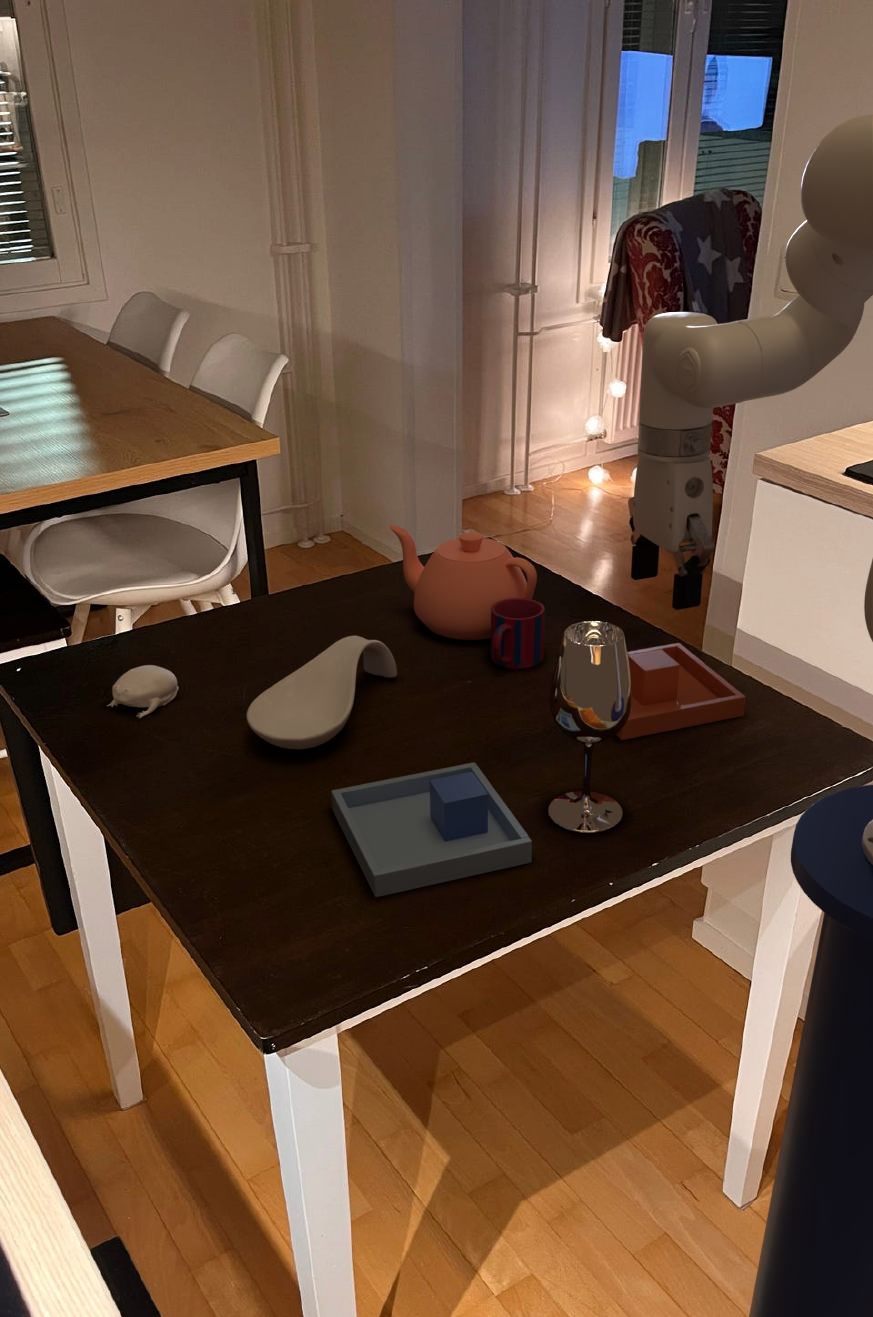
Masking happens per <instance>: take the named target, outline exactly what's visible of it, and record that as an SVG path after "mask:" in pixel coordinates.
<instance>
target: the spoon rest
mask: <svg viewBox="0 0 873 1317" xmlns="http://www.w3.org/2000/svg"><path fill="white" fill-rule="evenodd" d="M361 655H363V656H362V657H363V658H362V659H363V670H364V671H365V672H366V673H368V674H371V675H374V676H380V677H384V678H389V679H392V678H396V677H397V676H398V668H397V663H396V660H395V658H394V656H393V654H392V652H391V650H390V648H388V646H387V645H386V644H385V643H384V642H382V641H380V640H377V639H366V638H364V637H362V636H359V635H350V636H345V637H343V638H341V639H339V640H337V641H335V642H334V643H333V644H331V645H329V647H327V648H326V649H325V650H324V651H322V652H321V653H319V654H317V656H315V657H314V658H313V659H310V660H309V661H308V662H307V663H305V664H304V665H303V666H301V667H300V668H298V669H296V670H295V671H293V672H292V673H290V674H289V675H287V676H285V677H284V678H282V679H281V680H279V681H278V682H276V683H275V684H273V685H272V686H270V687H269V688H267V689H266V690H264V691H263V692H261V693H260V694H259V695H258V696H257V697H255V699H254V700H253V701H252V702H251V703H250V705H249V706H248V709H247V711H246V720H247V721H246V722H247V724H248V726H249V727H250V729H251V730H252V732H254V733H255V734H256V735H257V736H258V737H259V738H261V739H262V740H264V741H265V742H267V743H269V744H271V745H273V746H275V747H279V748H282V749H288V750H305V749H312V748H316V747H319V746H321V745H323V744H325V743H327V742H329V741H330V740H332V739H333V738H334V737H336V736H337V735H338V734H339V733H340V732H341V731H342V730H343V729H344V727H345V725H346V723H347V722H348V720H349V718H350V715H351V712H352V709H353V706H354V700H355V695H356V694H355V693H356V682H357V671H358V670H357V669H358V664H359V660H360V657H361Z"/></svg>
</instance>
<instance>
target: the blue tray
mask: <svg viewBox="0 0 873 1317" xmlns="http://www.w3.org/2000/svg"><path fill="white" fill-rule="evenodd" d="M468 772H472V773H473V774H474V775H475V777H476V778H477V780H478V781H479V782H480V784H481V785H482V787H483V788H484V790H485V791H486V792H487V794H488V832H487V833H482V834H478V835H473V836H468V837H464V838H459V839H455V840H450V841H445V840H444V839H443V837H442V836H441V834H440V832H439V831H438V829H437V827H436V826H435V824H434V823H433V821H432V819H431V815H430V783H429V780H433V779H438V778H443V777H448V776H453V775H458V774H463V773H468ZM330 793H331V803H332V812H333V814H334V816H335V818H336V820H337V823H338V824H339V826H340V829H341V831H342V832H343V835H344V836H345V838H346V840H347V843H348V845H349V847H350V849H351V851H352V853H353V855H354V857H355V859H356V861H357V863H358V865H359V867H360V869H361V871H362V873H363V876H364V877H365V879H366V882H367V883H368V885H369V887H370V890H371V891H372V894H373V896H374V897H375V898H379V897H384V896H388V895H392V894H397V893H401V892H407V891H411V890H414V889H419V888H423V887H424V888H425V887H429V886H433V885H438V884H442V883H445V882H450V881H455V880H459V879H465V878H469V877H473V876H477V875H482V874H486V873H490V872H495V871H499V870H504V869H508V868H512V867H513V868H514V867H517V866H521V865H526V864H531V863H533V855H532V854H533V840H532V839H531V838H530V836H529V835H528V833H527V832H526V831H525V829H524V828H523V826H522V825H521V824H520V822H519V821H518V820H517V818H516V817H515V815H514V814H513V813H512V811H511V810H510V808H508V806H507V805H506V803H505V801H503V799H502V797H501V796H500V795H499V794H498V792H497V790H495V788H494V787H493V785H492V784H491V783H490V781H489V779H488V778H487V777H486V775H485V774H484V773H483V772H482V770H481V769H480V767H479V766H478V765H477V763H476V762H470V763H464V764H459V765H454V766H449V767H445V768H444V767H443V768H438V769H433V770H428V771H424V772H418V773H413V774H409V775H403V776H398V777H392V778H388V779H383V780H378V781H373V782H368V783H363V784H358V785H353V786H348V787H343V788H337V789H333V790H331V791H330Z"/></svg>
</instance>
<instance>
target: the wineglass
mask: <svg viewBox="0 0 873 1317" xmlns="http://www.w3.org/2000/svg"><path fill="white" fill-rule="evenodd" d="M625 636H626V635H625V633H624V631H623V629H621V628H620V627H619V626H617V625H615V624H613V623H609V622H604V621H597V620H596V621H595V620H590V621H580V622H576V623H574V624H571V625H570V626H568V627H567V628H565V630H564V632H563V636H562V640H561V643H560V646H559V650H558V653H557V654H558V655H557V658H556V662H555V666H554V669H553V674H552V678H551V679H552V680H551V687H550V696H549V706H550V713H551V715H552V718H553V721H554V723H555V725H557V727H558V728H559V729H560V730H559V731H561V732H562V733H563V734H564V735H566V736H567V737H569V738H570V739H571V740H573V741H575V742H578V743H581V744H582V747H583V782H582V790H577V791H576V790H575V791H570V792H565V793H563V794H561V795H558V796H557V797H556V798H554V799H552V801H551V802H550V803H549V805H548V808H547V814H548V817H549V819H550V820H551V821H552V822H553V823H554V824H555V825H556V826H558V827H560V828H562V829H563V830H566V831H568V832H569V831H570V832H573V833H578V834H598V833H603V832H606V831H609V830H611V829H613V828H615V827H616V826H617V825H619V824H620V823H621V821H622V820H623V817H624V809H623V808H622V806H621V804H620V803H619V802H618V801H617V800H615V799H614V798H612V797H610V796H609V795H606V794H604V793H601V792H597V791H591V776H592V760H593V752H594V747H595V745H596V744H600V743H604V742H606V741H607V740H610V739H611V738H613V737H615V736H617V735H616V734H617V733H618V732H619V731H620V730H621V729H622V728H623V726H624V725H625V724H626V722H627V720H628V718H629V715H630V713H631V706H632V682H631V673H630V666H629V659H628V653H627V652H628V649H627V648H628V647H627V643H626V637H625Z"/></svg>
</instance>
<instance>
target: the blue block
mask: <svg viewBox="0 0 873 1317" xmlns="http://www.w3.org/2000/svg"><path fill="white" fill-rule="evenodd" d="M429 783H430V815H431V819H432V821H433V823H434V824H435V826H436V827H437V829H438V831H439V832H440V834H441V836H442V837H443V839H444V840H445V841H450V840H455V839H459V838H464V837H468V836H473V835H478V834H482V833H487V832H488V794H487V792H486V791H485V790H484V788H483V787H482V785H481V784H480V782H479V781H478V780H477V778H476V777H475V775H474V774H473V773H472V772H468V773H463V774H458V775H453V776H448V777H443V778H438V779H433V780H429Z"/></svg>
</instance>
